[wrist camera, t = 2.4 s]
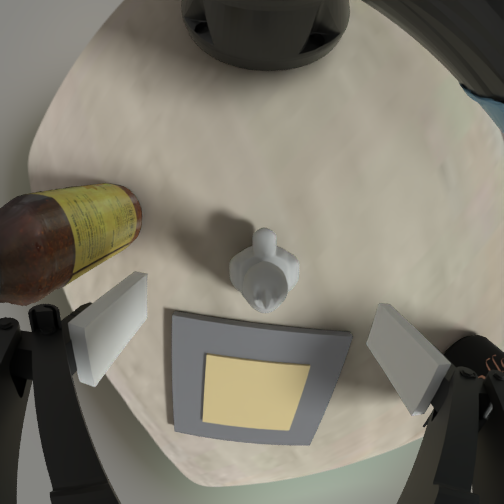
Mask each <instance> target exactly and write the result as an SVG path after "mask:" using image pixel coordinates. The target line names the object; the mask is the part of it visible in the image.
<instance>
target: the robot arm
mask: <svg viewBox="0 0 504 504" xmlns="http://www.w3.org/2000/svg"><path fill="white" fill-rule="evenodd" d="M362 1H363V2H365V3H367V4H368V5H370V6H371V7H373V8H374V9H376V10H377V11H379V12H380V13H381V14H383V15H384V16H386V17H387V18H388V19H390V20H391V21H393V22H394V23H395V24H397V25H398V26H399V27H400V28H402V29H403V30H404V31H406V32H407V33H408V34H409V35H410V36H412V37H413V38H414V39H415V40H416V41H418V42H419V43H420V44H421V45H422V46H423V47H424V48H426V49H427V50H428V51H429V52H430V53H431V54H432V55H433V56H434V57H435V58H436V59H437V60H438V61H440V62H441V63H442V64H443V65H444V66H445V67H446V68H447V69H448V70H449V71H450V73H451V74H452V75H453V76H454V77H455V78H456V79H457V80H458V81H459V84H460V86H461V87H462V88H463V89H464V91H465V93H466V94H467V95H468V96H469V97H470V98H472V99H473V100H474V101H476V102H478V103H479V104H480V105H481V107H482V108H483V109H484V110H485V111H486V113H487V114H488V115H489V116H490V117H491V119H492V120H493V121H494V122H495V124H496V125H497V126H498V128H499V129H500V130H501V131H502V132H503V133H504V0H362ZM181 9H182V16H183V20H184V23H185V25H186V27H187V29H188V31H189V33H190V35H191V37H192V39H193V40H194V41H195V43H196V44H197V45H198V46H199V47H200V48H201V49H202V50H204V51H205V52H206V53H208V54H209V55H211V56H212V57H214V58H216V59H218V60H220V61H222V62H224V63H227V64H230V65H233V66H237V67H241V68H246V69H252V70H262V71H276V70H286V69H292V68H297V67H301V66H304V65H307V64H310V63H312V62H315V61H317V60H318V59H320V58H322V57H324V56H325V55H326V54H328V53H329V52H330V51H331V50H332V49H333V48H334V47H335V46H336V45H337V43H338V42H339V40H340V38H341V37H342V35H343V33H344V32H345V30H346V28H347V25H348V22H349V17H350V6H349V0H182V5H181ZM28 314H29V320H30V325H31V329H32V332H27V331H21V330H20V326H19V322H18V321H17V320H16V319H14V318H6V317H5V318H1V319H0V504H17V496H16V495H17V470H18V458H19V449H20V441H21V433H22V428H23V422H24V416H25V411H26V406H27V401H28V397H29V393H30V388H31V384H32V380H33V387H34V397H35V407H36V414H37V421H38V428H39V433H40V438H41V444H42V448H43V453H44V457H45V462H46V466H47V469H48V473H49V476H50V480H51V483H52V487H53V491H52V492H50V499H51V503H52V504H121V502H120V501H119V499H118V497H117V495H116V493H115V491H114V489H113V487H112V485H111V483H110V481H109V479H108V477H107V475H106V473H105V470H104V468H103V466H102V464H101V461H100V459H99V457H98V454H97V452H96V449H95V447H94V444H93V442H92V439H91V437H90V434H89V431H88V428H87V425H86V422H85V419H84V416H83V413H82V410H81V407H80V404H79V400H78V396H77V393H76V389H75V385H74V381H73V378H72V375H73V374H74V373H75V372H76V371H77V373H78V377H79V381H80V382H82V383H85V384H88V385H91V386H93V387H95V386H96V385H97V384H98V382H99V381H100V380H101V378H102V377H103V375H104V374H105V373H106V371H107V370H108V369H109V367H110V366H111V365H112V363H113V362H114V361H115V359H116V358H117V357H118V355H119V354H120V353H121V351H122V350H123V349H124V347H125V346H126V345H127V344H128V342H129V341H130V340H131V338H132V337H133V336H134V334H135V333H136V332H137V331H138V329H139V328H140V327H141V325H142V324H143V323H144V322H145V320H146V319H147V273H142V272H136V271H135V272H133V273H132V274H131V275H129V276H128V277H127V278H125V279H124V280H123V281H121V282H120V283H119V284H117V285H116V286H115V287H113V288H112V289H111V290H109V291H108V292H107V293H105V294H104V295H103V296H101V297H100V298H99V299H98V300H96V301H95V302H94V303H87V304H84V305H81V306H80V307H79V308H77V309H76V310H75V311H73V312H72V313H71V314H70V315H68V316H67V317H65V318H64V319H63V320H62V321H61V319H60V312H59V309H58V307H56V306H55V305H51V304H40V305H36V306H34V307H32V308H31V309H30V310H29V312H28ZM366 345H367V346H368V348H369V349H370V351H371V352H372V354H373V355H374V357H375V358H376V360H377V362H378V363H379V365H380V366H381V368H382V369H383V371H384V372H385V374H386V375H387V377H388V379H389V380H390V382H391V383H392V385H393V386H394V388H395V390H396V391H397V393H398V394H399V396H400V398H401V399H402V401H403V403H404V404H405V406H406V407H407V409H408V411H409V412H410V414H411V416H414V415H420V414H424V413H425V412H426V410H427V408H428V407H429V405H430V403H431V404H432V406H433V407H434V409H433V411H432V413H431V414H430V416H429V417H428V419H427V421H426V422H425V424H424V425H423V427H425V426H426V425H427V428H426V431H425V434H424V437H423V440H422V443H421V446H420V450H419V452H418V455H417V458H416V461H415V463H414V466H413V468H412V471H411V473H410V476H409V478H408V481H407V483H406V485H405V487H404V489H403V492H402V494H401V496H400V498H399V500H398V502H397V504H504V374H503V372H501V371H499V370H490V371H489V372H488V374H487V376H486V378H485V379H481V378H478V376H477V374H476V373H475V372H474V371H473V370H471V369H469V368H467V367H457V368H456V367H455V366H454V365H453V364H452V363H451V362H450V361H449V360H448V359H447V358H446V357H445V356H444V355H443V354H442V353H441V352H440V351H439V350H438V349H437V348H436V347H435V346H434V345H432V344H431V343H430V342H429V341H428V340H427V339H426V338H425V337H424V336H423V335H422V334H421V333H420V332H419V331H418V330H417V329H416V328H415V327H414V326H413V325H412V324H411V323H410V322H409V321H407V320H406V319H405V318H404V317H403V316H402V315H401V314H400V313H399V312H398V311H397V310H396V309H395V308H394V307H393V306H391V305H390V304H385V303H379V304H378V308H377V311H376V315H375V318H374V321H373V324H372V328H371V331H370V334H369V337H368V340H367V343H366ZM491 410H492V413H491V415H490V417H489V418H488V415H489V413H490V412H491ZM471 486H472V490H473V493H471Z"/></svg>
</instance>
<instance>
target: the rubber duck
mask: <svg viewBox="0 0 504 504" xmlns="http://www.w3.org/2000/svg"><path fill="white" fill-rule="evenodd" d="M276 244H277V237H276V234H275V233H274V232H273V231H272V230H270V229H268V228H261V229H259V230H257V231H256V232H255V233H254V234H253V246H251V247H248V248H246V249H244V250H243V251H241V252H240V253H238V254H236V255H235V256H234V257H233V258H232V259H231V261H230V263H229V272H230V280H231V282H232V284H233V286H234V287H235V288H236V289H237V290H238V291H240V292H241V293H242V295H243V297H244V298H245V299H246V300H247V302H248V303H249V304H250V305H251V306H252V307H253V308H254V309H255V310H257V311H259V312H261V313H269V312H272V311H273V310H275V309H276V308H278V307H279V306H280V305H281V303H282V302H283V301H284V300H285V298H286V296H287V294H288V292H289V291H290V290H291V289H292V288H293V287H294V286H295V285H296V283H297V282H298V279H299V261H298V259H297V258H296V257H295V256H294V255H293V254H291V253H289V252H287V251H286V250H285V249H283V248H281V247H278V246H276Z"/></svg>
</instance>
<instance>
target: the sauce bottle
mask: <svg viewBox="0 0 504 504" xmlns="http://www.w3.org/2000/svg"><path fill="white" fill-rule="evenodd" d="M141 221H142V211H141V207H140V204H139V201H138V200H137V198H136V197H135V195H134V194H133V193H132V192H131V191H130V190H129V189H127V188H126V187H124V186H119V185H113V184H107V183H102V184H95V185H86V186H76V187H66V188H63V189H55V190H49V191H40V192H36V193H30V194H24V195H21V196H17V197H16V198H14V199H12V200H11V201H9V202H8V203H7V204H5V205H4V206H3V207H2V208H0V303H4V302H8V303H11V304H16V305H21V306H23V305H25V306H27V305H29V304H31V303H35V302H37V301H39V300H41V299H42V298H44V297H45V296H47V295H48V294H50V293H51V292H53V291H54V290H56V289H60V288H62V287H64V286H66V285H67V284H69V283H70V282H72V281H73V280H75V279H77V278H78V277H80V276H81V275H83V274H85V273H86V272H88V271H89V270H91V269H93V268H94V267H96V266H98V265H99V264H101V263H103V262H104V261H106V260H107V259H109V258H111V257H112V256H114V255H116V254H118V253H119V252H121V251H123V250H124V249H126V248H127V247H128V246H129V244H131V243H132V242H133V241H134V240H135V239H136V238H137V236H138V234H139V232H140V229H141V225H142V222H141Z"/></svg>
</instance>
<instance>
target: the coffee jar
mask: <svg viewBox="0 0 504 504" xmlns="http://www.w3.org/2000/svg"><path fill="white" fill-rule="evenodd" d="M444 356H445V357H446V358H447V359H448V360H449V361H450V362H451V363H452V364H453V365H454V366H455V367H456V368H457V367H467V368H469V369H471V370H473V371H474V372H475V373H476V374H477V376H478V378H481V379H485V378H486V376H487V374H488V372H489V371H490V370H499V371H501V372H503V374H504V352H503V351H501V350H500V349H499V348H498V347H497V346H495V345H494V344H493V343H492V342H491V341H489V340H488V339H487V338H486V337H483V336H480V335H476V336H469V337H465V338H463V339H461V340H459V341H457V342H456V343H455V344H454V345H453V346H451V347H450V348H449V349H448V350H447V351H446V352H445V354H444ZM491 413H492V410H491V412H490V413H489V415H488V418H489V417H490V415H491Z"/></svg>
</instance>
